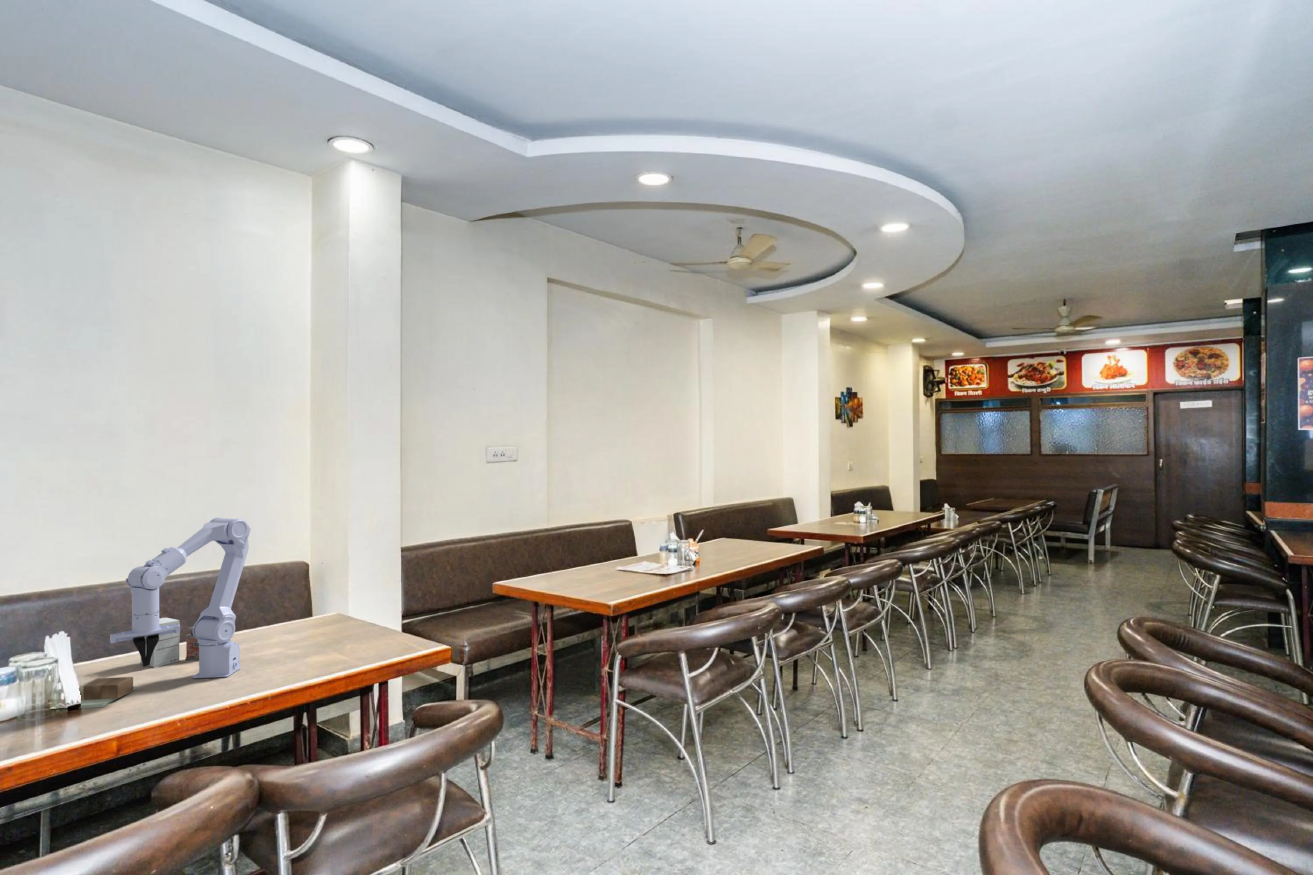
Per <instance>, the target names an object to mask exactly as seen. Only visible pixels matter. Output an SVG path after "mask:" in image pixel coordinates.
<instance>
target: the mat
mask: <svg viewBox="0 0 1313 875" xmlns="http://www.w3.org/2000/svg"><path fill="white" fill-rule="evenodd" d="M136 687H137V686H136V685H133V691H135V690H136ZM116 700H117V699H97V700H81V708H80V709H89V708H90V709H93V708H94V709H95V708H103V707H104V706H107V705H108V704H109V705H110V703H112V702H114V701H116Z"/></svg>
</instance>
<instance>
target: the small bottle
mask: <svg viewBox="0 0 1313 875" xmlns="http://www.w3.org/2000/svg"><path fill="white" fill-rule="evenodd" d="M192 630H193V626H192V627H189V632H190V633H188V634H186V635H185V642H186V643H185V644H186V645H185V646H186V647H185V648H186V649H185V650H186V653H185V661H187V662H188V661H199V643H198V639H196V638H195V637H194V636H193V632H192Z"/></svg>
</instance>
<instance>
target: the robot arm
mask: <svg viewBox="0 0 1313 875" xmlns="http://www.w3.org/2000/svg"><path fill="white" fill-rule="evenodd" d="M250 532H251V527H250V525H249V524H248V523H247V521H246V520H245V519H243V518H240V517H238V518H222V517H214V518H212V519H211V520H210V521H207V522H206V523H204V524H203V526H202V527H201V529H199V530H198V531H197V532H196V533H194V534H193V535H192V536H190V537H189V538H188V539H186V540H185V541H184V542H183V543H181V544H180V545H178V547H172V546H170V547H168V548H167V547H165V548H163V549H162V550H161V553H160V554H158V555H157V556H155V557H154V558H152V559H151V560H150V559H149V560H147V561H145V564H144V565H140V566H136V567H134V568H132V569H131V571H129V573H128V576H127V578H125V583H126V585H127V586H128V587H129V588H130V594H131V630H127V631H122V632H117V633H112V634H111V633H110V635H109V643H110V644H116V643H120V642H124V641H133V644H134V646H135V647H136V649H137V651H138V653H139V656H140V660H141V659H142V664H141V665H142V667H143V668H144V667H151V666H150V660H151V657H152V654H153V651H154V649H155V647H156V645H157V643H158V641H159V635H165V634H172V633H179V634H180V633H181V625H180V623H179V624H177V625H168V626H159V619H160V587H161V586H162V585H164V583H165V581H166V578H167V577H169V576H170V575H171V574H172V573H173V572H175V571H176V570H178V569H179V568H180V567H182V566H183V565H185V563H186V561H187V557H189V556H191V555H192V554H193V553H195V552H197V551H198V550H200V549H201V548H203V547H204V546H206V545H208V544H209V543H211V542H215V543H216V544H218V545H219V546H221V548H222V549H223V551H224V556H223V559H222V562H221V566H220V569H219V573H218V576H217V579H216V582H215V586H214V589H213V592H212V595H211V598H210V602H209V604H208V607H207V608H205V609H204V610H202V611H201V612H200V614H199V616H198V619H197V621H195V623H194V625H193V626H192V627H193V630H192V632H193V636H194V637H195V638H196V639H198V643H199V660H198V672H197V673H196V674H193V675H192V676H191V678H192V679H209V678H211V679H212V678H227V677H229V676H231V675H233V674H234V673H235V672H238V671H239V670H240V669H241V668H242V667H241V665H240V664H241V663H240V661H241V660H240V658H241V657H240V649H241V648H240V644H239V643H238V642H237V641H231V639H232V638H233V637H234V635H235V632H236V623H235V622H236V618H237V616H236V614H235V613H234V611H233V610H232V607H233V603H234V598H235V596H236V594H237V593H236V592H237V590H238V587H239V582H240V578H241V577H242V576H241V575H242V572H243V569H244V566H245V562H246V559H247V555H248V552H249V549H250V548H249V536H250V534H251V533H250ZM145 638H146V641H145Z"/></svg>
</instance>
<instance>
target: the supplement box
mask: <svg viewBox="0 0 1313 875" xmlns="http://www.w3.org/2000/svg"><path fill="white" fill-rule="evenodd" d="M177 624H179V625H180V620H179V619H175V618H170V617H161V618H160V617H159V626H168V625H177ZM145 641H146V638H145ZM176 662H180V633H172V634H165V635H159V641H158V643H157V645H156V647H155V649H154V651H153V654H152V657H151V660H150V666H149V667H151V668H158V667H163V666H166V665H170V664H174V663H176ZM140 665H142V659H141V658H140Z"/></svg>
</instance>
